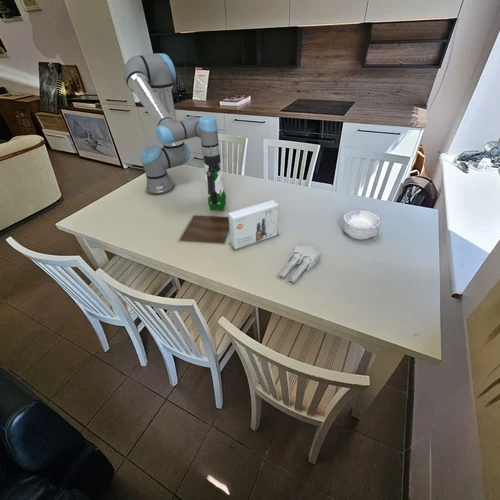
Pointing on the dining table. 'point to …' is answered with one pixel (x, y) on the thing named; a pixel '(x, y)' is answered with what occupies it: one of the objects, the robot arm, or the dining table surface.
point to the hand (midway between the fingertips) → (217, 198)
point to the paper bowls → (361, 224)
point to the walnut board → (207, 229)
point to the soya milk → (217, 191)
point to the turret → (301, 260)
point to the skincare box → (253, 224)
